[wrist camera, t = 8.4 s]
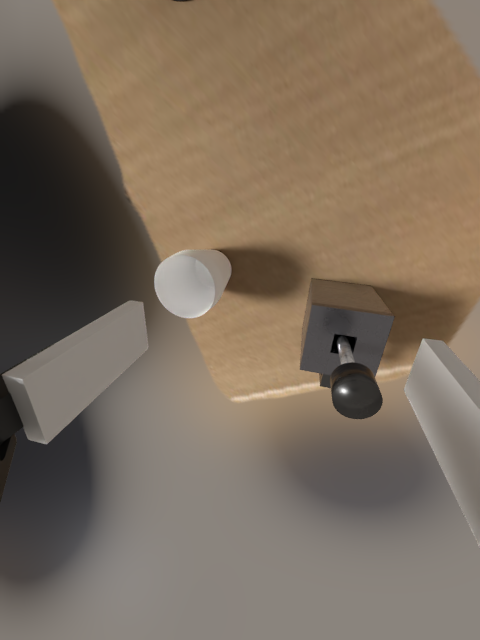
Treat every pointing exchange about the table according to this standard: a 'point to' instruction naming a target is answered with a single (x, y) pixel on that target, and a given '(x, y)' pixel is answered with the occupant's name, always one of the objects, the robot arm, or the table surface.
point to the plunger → (353, 385)
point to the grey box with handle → (343, 326)
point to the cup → (192, 281)
